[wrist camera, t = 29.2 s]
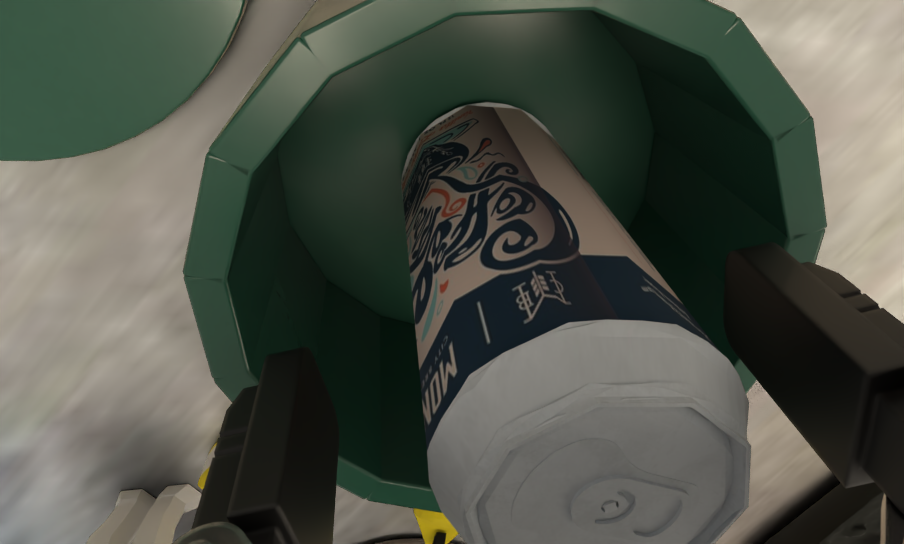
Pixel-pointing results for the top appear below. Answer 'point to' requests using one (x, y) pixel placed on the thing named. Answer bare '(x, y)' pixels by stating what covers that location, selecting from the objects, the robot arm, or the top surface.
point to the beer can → (558, 353)
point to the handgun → (838, 518)
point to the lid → (102, 69)
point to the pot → (394, 133)
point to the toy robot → (146, 516)
